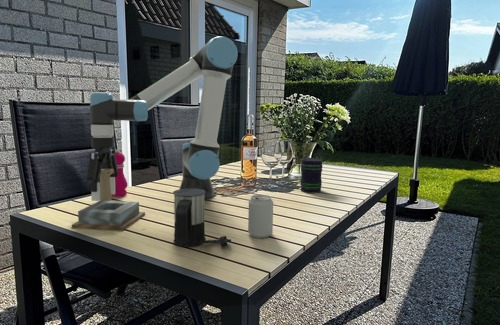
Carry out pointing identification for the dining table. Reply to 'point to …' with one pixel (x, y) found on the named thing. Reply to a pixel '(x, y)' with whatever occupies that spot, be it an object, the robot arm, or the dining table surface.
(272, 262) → the dining table surface
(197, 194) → the milk frother
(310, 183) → the storage jar
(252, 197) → the can
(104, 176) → the handle
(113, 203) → the frame
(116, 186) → the pepper mill
